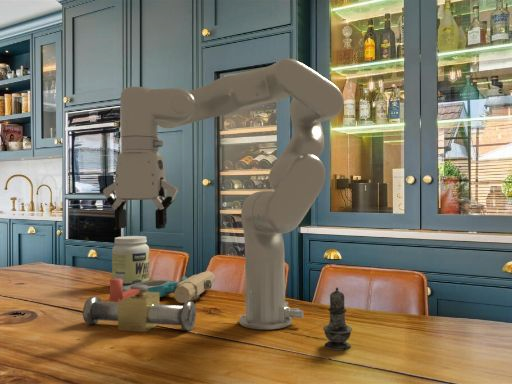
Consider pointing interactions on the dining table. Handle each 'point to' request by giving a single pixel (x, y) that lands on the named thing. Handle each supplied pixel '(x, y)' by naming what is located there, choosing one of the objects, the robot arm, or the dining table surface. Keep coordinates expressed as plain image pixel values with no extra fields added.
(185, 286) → the butterfly valve
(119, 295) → the lever
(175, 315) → the valve body
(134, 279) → the supplement tub
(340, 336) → the salt shaker
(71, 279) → the dining table surface
